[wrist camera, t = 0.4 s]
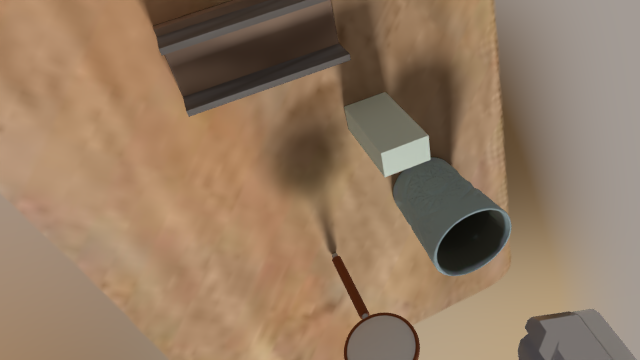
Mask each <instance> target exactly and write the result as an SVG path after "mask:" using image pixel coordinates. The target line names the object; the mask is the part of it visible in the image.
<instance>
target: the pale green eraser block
mask: <svg viewBox="0 0 640 360" xmlns="http://www.w3.org/2000/svg"><path fill="white" fill-rule="evenodd" d="M344 109H345V114H346V119H347V124H348V129H349V130H350V132H351V133H352V134H353V136H354V137H355V138H356V140H357V141H358V142H359V144H360V145H361V146H362V148H363V149H364V150H365V152H366V153H367V154H368V156H369V157H370V158H371V160H372V161H373V162H374V164H375V165H376V166H377V168H378V169H379V170H380V172H381V173H382V174H383V176H384V177H387V176H390V175H392V174H395V173H398V172H400V171H403V170H405V169H408V168H411V167H413V166H416V165H418V164H421V163H424V162H426V161H429V160H431V159H430V146H429V135H428V134H427V133H426V132H425V131H424V130H423V129H422V128H421V127H420V126H419V125H418V124H417V123H416V122H415V121H414V120H413V119H412V118H411V117H410V116H409V115H408V114H407V113H406V112H405V111H404V110H403V109H402V108H401V107H400V106H399V105H398V104H397V103H396V102H395V101H394V100H393V99H392V98H391V97H390V96H389V95H388V94H387V93H386V92H383V93H381V94H378V95H375V96H372V97H370V98H367V99H364V100H361V101H359V102H356V103H353V104H350V105H347V106H345V107H344Z"/></svg>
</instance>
